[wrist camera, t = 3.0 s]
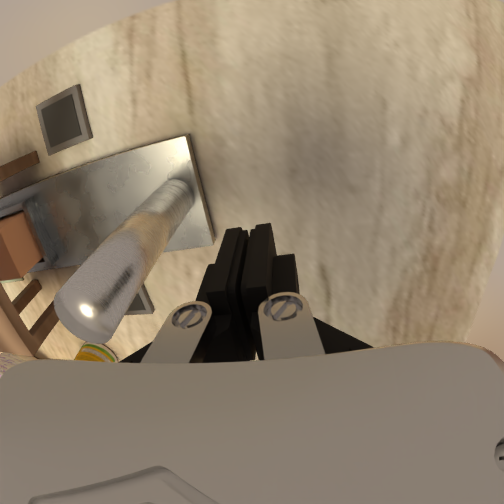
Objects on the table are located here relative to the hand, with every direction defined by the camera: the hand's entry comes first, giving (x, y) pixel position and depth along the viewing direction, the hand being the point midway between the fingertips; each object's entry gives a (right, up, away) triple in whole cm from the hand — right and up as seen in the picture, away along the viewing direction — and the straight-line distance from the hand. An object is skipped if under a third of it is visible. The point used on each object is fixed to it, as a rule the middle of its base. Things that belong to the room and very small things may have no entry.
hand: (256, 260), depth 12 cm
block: (-24, +2, +15) cm, 28 cm away
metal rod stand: (-16, +4, +14) cm, 22 cm away
